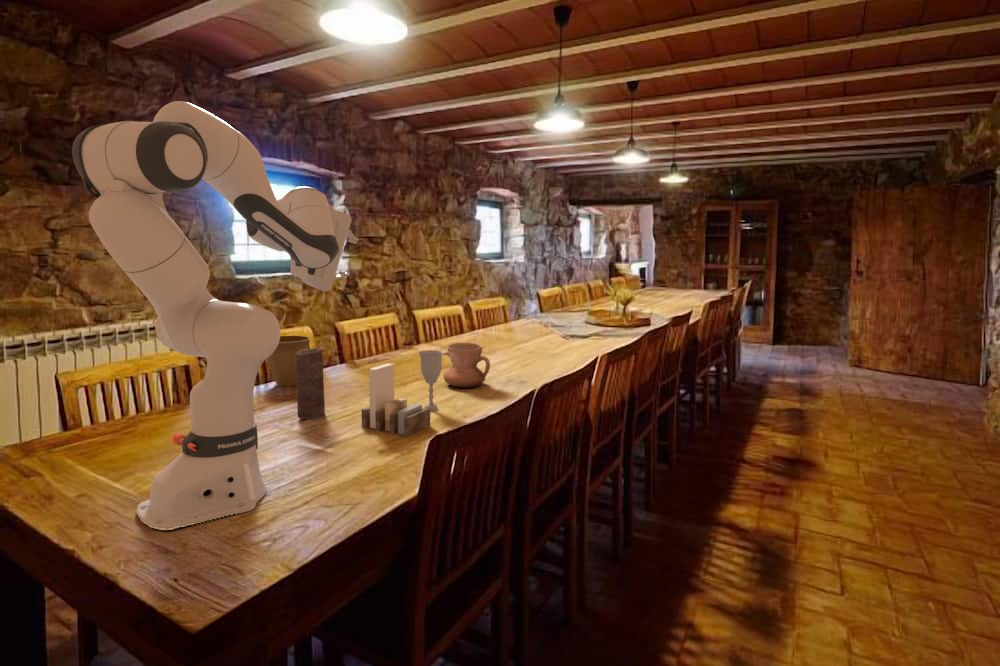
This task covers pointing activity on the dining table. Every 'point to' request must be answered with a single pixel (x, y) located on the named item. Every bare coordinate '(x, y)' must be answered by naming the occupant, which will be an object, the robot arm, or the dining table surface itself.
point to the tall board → (380, 389)
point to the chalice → (431, 372)
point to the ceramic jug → (465, 365)
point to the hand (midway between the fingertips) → (350, 258)
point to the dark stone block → (310, 384)
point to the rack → (411, 422)
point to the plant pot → (287, 359)
